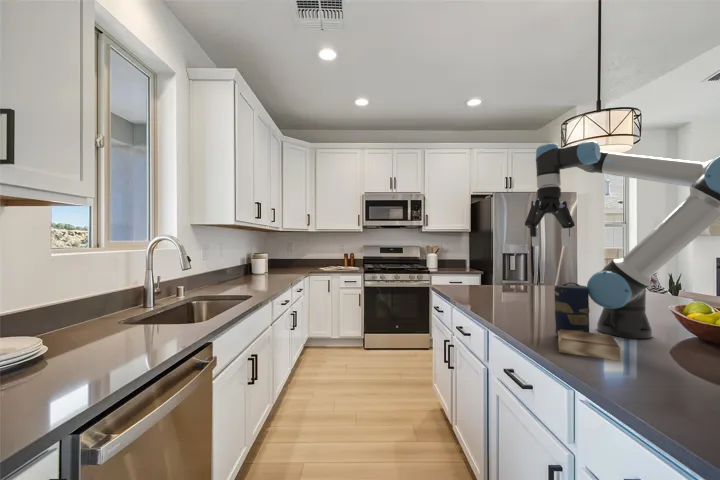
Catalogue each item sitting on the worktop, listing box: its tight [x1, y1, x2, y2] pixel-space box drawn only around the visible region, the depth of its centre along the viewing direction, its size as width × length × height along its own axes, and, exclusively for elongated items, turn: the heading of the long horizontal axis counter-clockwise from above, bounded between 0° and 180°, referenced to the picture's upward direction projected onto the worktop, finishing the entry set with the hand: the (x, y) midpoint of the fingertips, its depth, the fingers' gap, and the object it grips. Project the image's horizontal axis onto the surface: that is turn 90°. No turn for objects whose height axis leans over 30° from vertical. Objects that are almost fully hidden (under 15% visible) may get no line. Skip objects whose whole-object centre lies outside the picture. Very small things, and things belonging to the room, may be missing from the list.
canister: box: [554, 281, 590, 336], centre depth 113 cm, size 10×10×18 cm
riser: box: [557, 329, 621, 362], centre depth 100 cm, size 14×12×4 cm
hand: (550, 246), depth 125 cm, fingers open, 13 cm apart
